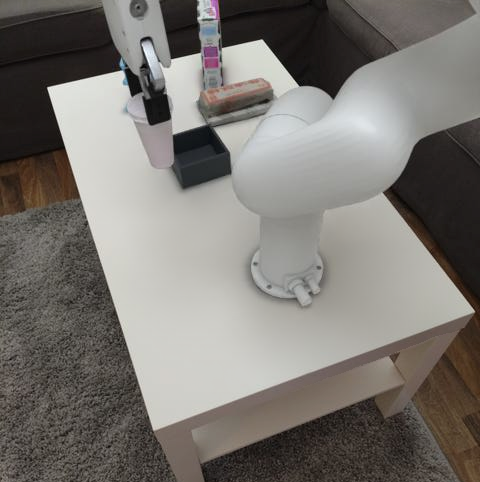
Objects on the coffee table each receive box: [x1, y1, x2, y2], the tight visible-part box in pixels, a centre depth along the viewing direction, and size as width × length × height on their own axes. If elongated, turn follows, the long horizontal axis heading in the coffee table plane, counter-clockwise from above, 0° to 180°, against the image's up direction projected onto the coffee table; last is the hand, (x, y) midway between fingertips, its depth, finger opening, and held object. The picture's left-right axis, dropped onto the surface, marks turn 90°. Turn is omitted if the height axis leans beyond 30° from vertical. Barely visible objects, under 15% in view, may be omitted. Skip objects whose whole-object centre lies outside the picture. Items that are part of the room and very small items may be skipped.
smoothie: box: [126, 68, 174, 170], centre depth 63 cm, size 6×6×14 cm
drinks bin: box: [170, 123, 232, 190], centre depth 91 cm, size 11×11×5 cm
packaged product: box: [195, 77, 279, 128], centre depth 102 cm, size 18×5×10 cm
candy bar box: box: [196, 0, 224, 91], centre depth 103 cm, size 11×5×16 cm, turn 3°
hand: (150, 107), depth 61 cm, fingers closed on smoothie, 6 cm apart
